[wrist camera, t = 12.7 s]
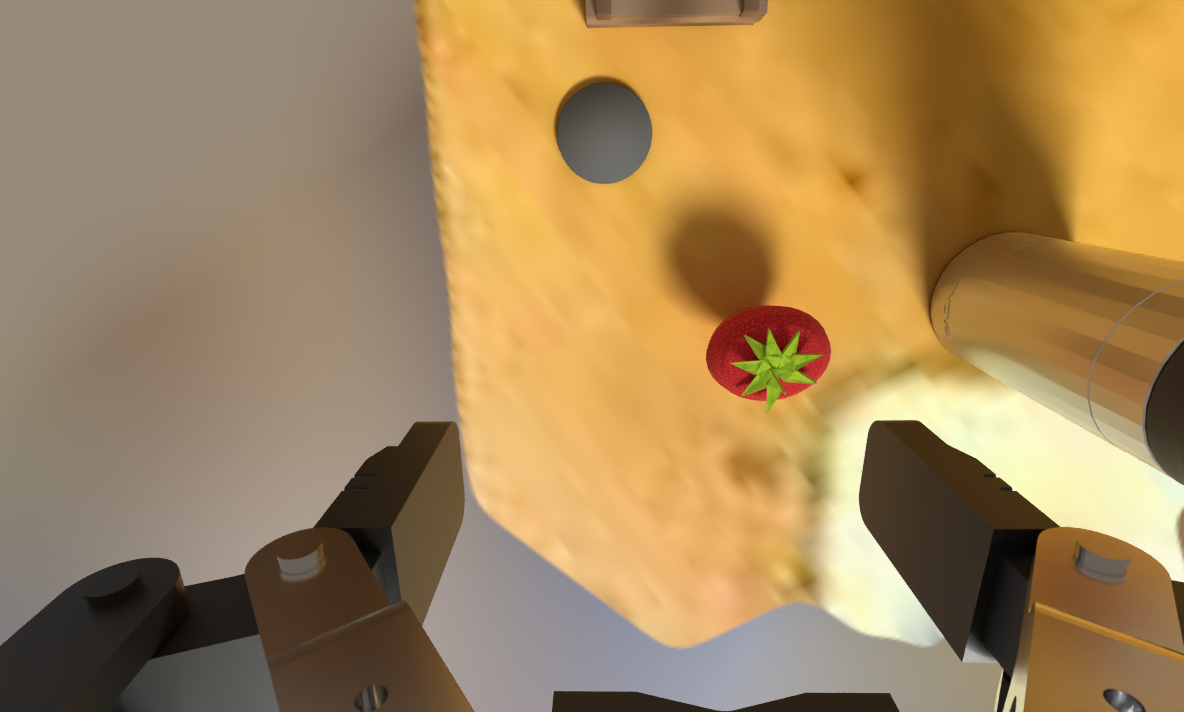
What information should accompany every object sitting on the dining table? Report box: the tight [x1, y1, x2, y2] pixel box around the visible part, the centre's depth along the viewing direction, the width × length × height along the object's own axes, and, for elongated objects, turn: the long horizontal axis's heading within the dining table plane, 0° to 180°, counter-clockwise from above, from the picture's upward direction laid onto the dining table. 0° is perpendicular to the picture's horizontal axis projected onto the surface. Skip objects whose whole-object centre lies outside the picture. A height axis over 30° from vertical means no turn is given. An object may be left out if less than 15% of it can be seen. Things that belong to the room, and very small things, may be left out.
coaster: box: [557, 83, 652, 184], centre depth 38 cm, size 6×6×1 cm
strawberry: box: [706, 306, 831, 412], centre depth 37 cm, size 6×8×10 cm
